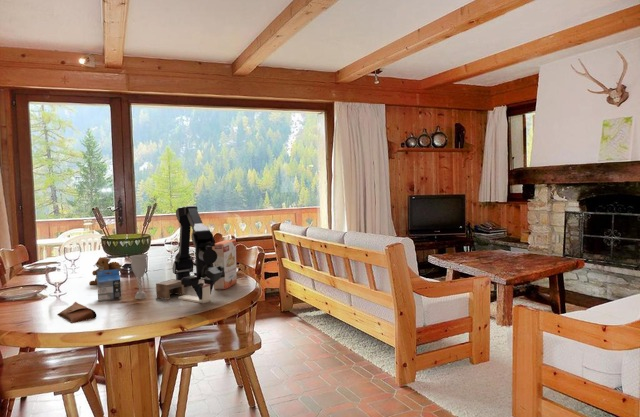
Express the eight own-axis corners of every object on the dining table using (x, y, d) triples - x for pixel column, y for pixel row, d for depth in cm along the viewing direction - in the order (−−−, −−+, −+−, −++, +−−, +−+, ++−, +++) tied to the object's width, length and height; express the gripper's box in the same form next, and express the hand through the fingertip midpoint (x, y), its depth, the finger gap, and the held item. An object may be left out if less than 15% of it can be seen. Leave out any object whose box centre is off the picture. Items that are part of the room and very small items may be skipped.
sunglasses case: (54, 314, 172) (63, 297, 174) (72, 319, 177) (80, 303, 179) (72, 323, 160) (81, 305, 162) (90, 329, 165) (99, 311, 167)
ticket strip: (178, 298, 190) (177, 282, 189) (186, 296, 193) (185, 280, 193) (203, 303, 182) (202, 286, 181) (210, 301, 185) (210, 284, 185)
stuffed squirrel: (87, 285, 220) (85, 258, 219) (110, 279, 233) (109, 253, 232) (102, 286, 217) (100, 259, 216) (125, 280, 230) (123, 254, 229)
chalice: (153, 295, 196) (150, 255, 195) (142, 300, 190) (139, 257, 188) (139, 294, 198) (137, 254, 197) (128, 299, 192) (125, 257, 191)
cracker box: (225, 290, 203) (223, 244, 202) (213, 289, 204) (211, 243, 203) (238, 282, 217) (236, 239, 215) (226, 282, 218) (224, 239, 217)
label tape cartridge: (98, 301, 189) (96, 272, 188) (98, 299, 192) (96, 271, 192) (121, 298, 193) (119, 270, 192) (120, 296, 196) (119, 268, 196)
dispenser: (156, 297, 194) (155, 283, 193) (173, 292, 201) (172, 279, 201) (167, 299, 190) (166, 285, 190) (184, 294, 197) (183, 280, 197)
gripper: (199, 266, 171) (201, 306, 172) (233, 257, 186) (235, 295, 187) (179, 263, 177) (181, 302, 178) (214, 256, 192) (216, 292, 193)
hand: (204, 298), depth 184 cm, fingers closed on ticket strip, 4 cm apart
